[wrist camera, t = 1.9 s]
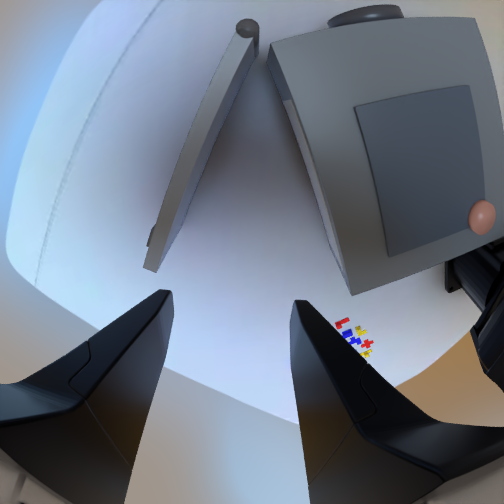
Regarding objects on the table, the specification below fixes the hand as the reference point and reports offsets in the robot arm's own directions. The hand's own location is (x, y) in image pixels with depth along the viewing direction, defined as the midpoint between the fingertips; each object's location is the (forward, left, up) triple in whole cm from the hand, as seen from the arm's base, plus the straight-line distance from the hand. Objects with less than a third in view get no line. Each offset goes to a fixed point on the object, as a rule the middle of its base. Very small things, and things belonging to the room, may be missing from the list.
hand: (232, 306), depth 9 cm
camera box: (+1, -10, -12) cm, 16 cm away
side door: (+5, +1, -12) cm, 13 cm away
